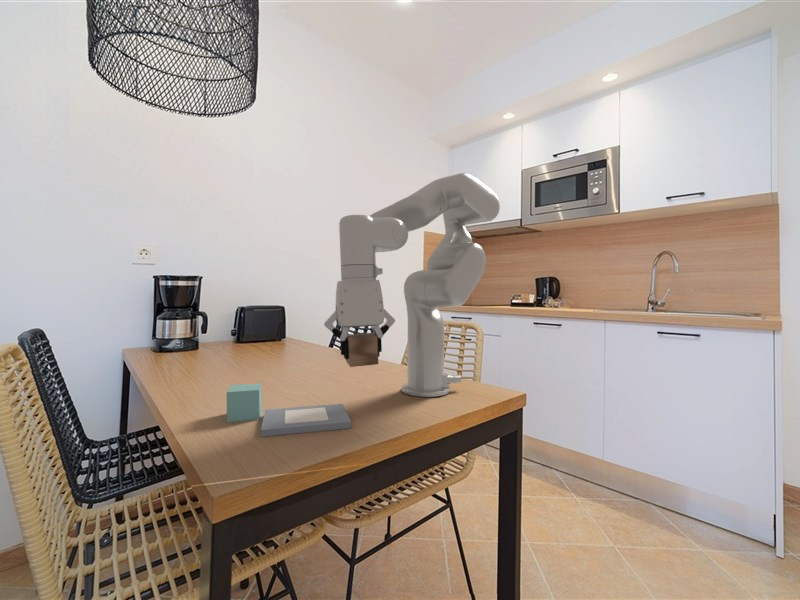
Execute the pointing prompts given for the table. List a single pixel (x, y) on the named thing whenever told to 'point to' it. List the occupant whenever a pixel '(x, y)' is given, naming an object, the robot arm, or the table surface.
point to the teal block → (244, 402)
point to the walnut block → (362, 349)
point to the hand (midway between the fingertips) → (361, 356)
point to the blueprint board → (304, 419)
